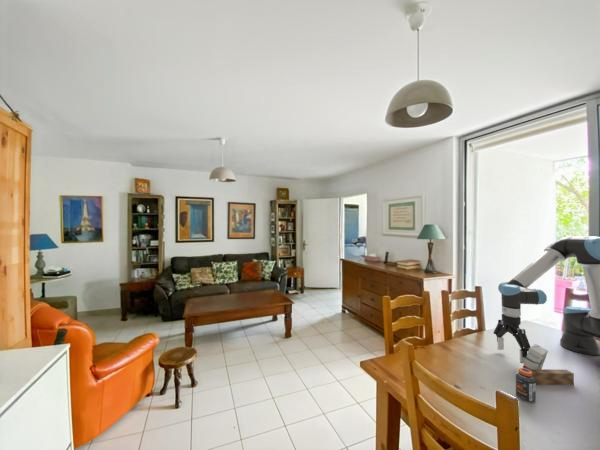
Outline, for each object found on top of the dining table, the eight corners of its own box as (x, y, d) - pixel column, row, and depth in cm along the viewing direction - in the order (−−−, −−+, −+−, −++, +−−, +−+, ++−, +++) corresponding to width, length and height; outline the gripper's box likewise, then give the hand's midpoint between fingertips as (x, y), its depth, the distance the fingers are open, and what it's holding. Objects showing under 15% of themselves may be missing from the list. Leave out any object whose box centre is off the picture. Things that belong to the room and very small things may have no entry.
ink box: (535, 377, 113) (542, 354, 111) (521, 369, 117) (528, 347, 115) (541, 371, 118) (548, 349, 115) (528, 364, 122) (535, 343, 120)
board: (566, 380, 111) (566, 369, 111) (573, 385, 108) (573, 373, 108) (523, 380, 111) (523, 369, 111) (529, 384, 108) (529, 373, 108)
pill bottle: (511, 393, 102) (511, 366, 102) (525, 392, 103) (524, 365, 103) (526, 404, 96) (525, 374, 96) (540, 403, 97) (539, 374, 97)
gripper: (485, 307, 141) (486, 344, 141) (525, 324, 116) (526, 369, 116) (498, 307, 141) (499, 344, 141) (541, 324, 116) (542, 369, 116)
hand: (511, 356), depth 128 cm, fingers open, 13 cm apart
